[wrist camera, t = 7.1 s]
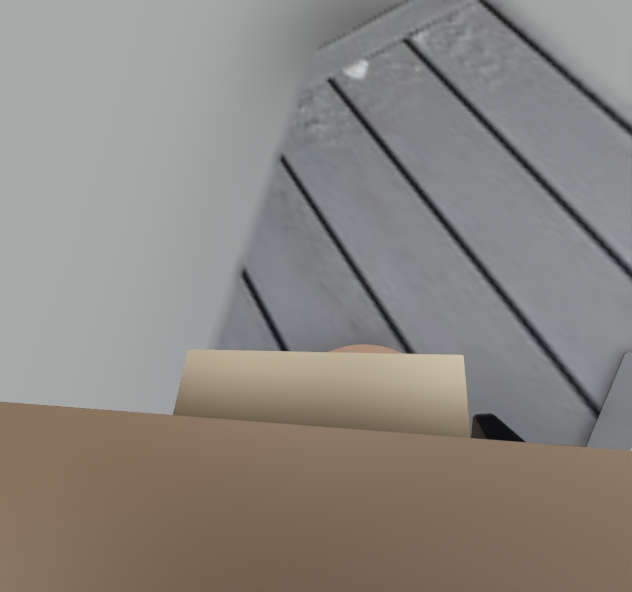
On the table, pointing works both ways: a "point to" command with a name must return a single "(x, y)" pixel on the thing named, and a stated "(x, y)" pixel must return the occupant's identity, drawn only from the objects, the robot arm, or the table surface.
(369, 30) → the table surface
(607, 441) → the socket
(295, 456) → the wooden block tower
